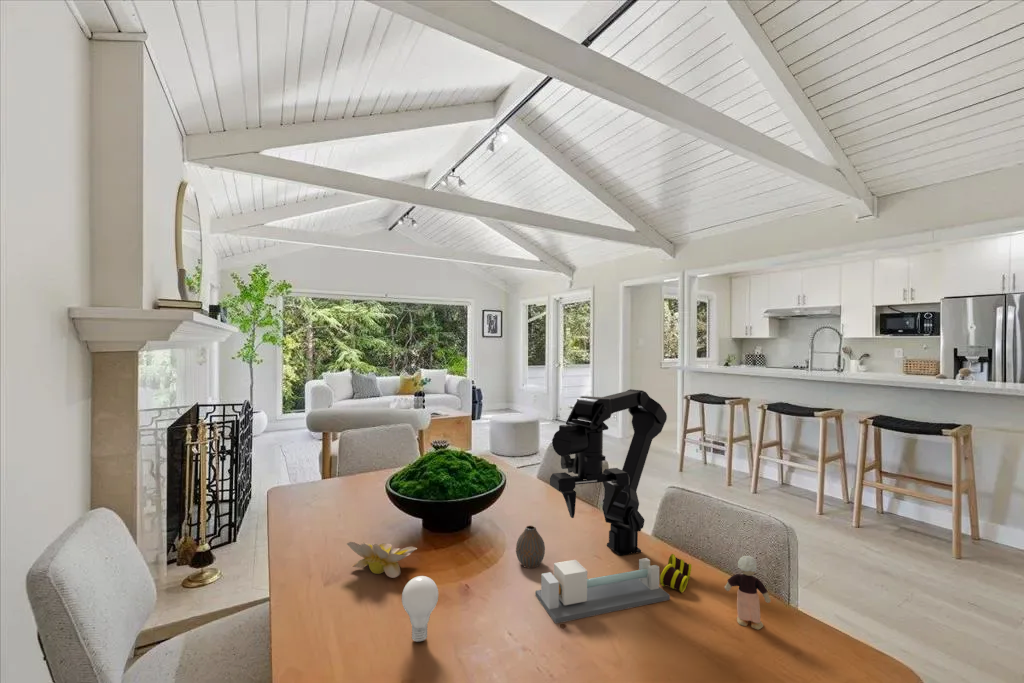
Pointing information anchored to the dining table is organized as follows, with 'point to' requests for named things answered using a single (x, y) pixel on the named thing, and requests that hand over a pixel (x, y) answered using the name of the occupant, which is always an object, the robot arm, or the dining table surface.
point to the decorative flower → (380, 557)
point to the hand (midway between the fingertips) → (589, 515)
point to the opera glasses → (676, 574)
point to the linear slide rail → (604, 593)
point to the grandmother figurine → (748, 593)
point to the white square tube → (571, 581)
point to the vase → (530, 548)
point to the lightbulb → (419, 604)
